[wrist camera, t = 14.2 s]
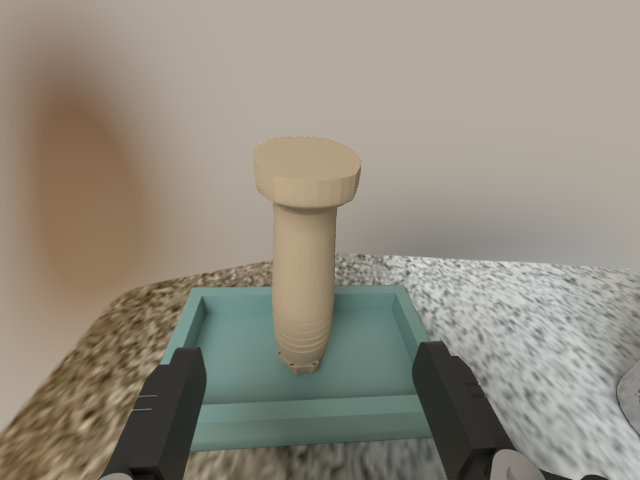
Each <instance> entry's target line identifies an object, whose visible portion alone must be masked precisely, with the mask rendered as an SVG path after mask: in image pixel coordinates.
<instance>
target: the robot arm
mask: <svg viewBox="0 0 640 480" xmlns="http://www.w3.org/2000/svg"><path fill="white" fill-rule="evenodd" d="M412 379H413V383H414V386H415V389H416V392H417V394H418V397H419V400H420V403H421V405H422V408H423V411H424V414H425V417H426V419H427V422H428V425H429V428H430V430H431V433H432V436H433V439H434V442H435V444H436V447H437V450H438V453H439V455H440V458H441V461H442V464H443V467H444V469H445V472H446V475H447V478H448V480H572V479H569V478H565V477H562V476H559V475H555V474H552V473H549V472H546V471H543V470H541V469H539V468H538V467H537V466H536V465H535V464H534V463H533V462H532V461H531V460H530V459H528V458H527V457H526V456H524V455H523V454H521V453H519V452H518V451H517V450H516V448H515V447H514V446H513V444H512V443H511V441H510V439H509V437H508V435H507V434H506V432H505V430H504V428H503V426H502V425H501V423H500V421H499V419H498V417H497V416H496V414H495V412H494V410H493V408H492V407H491V405H490V403H489V401H488V399H487V398H486V397H485V394H484V392H483V390H482V389H481V387H480V385H478V381H477V380H476V378H475V376H474V374H473V372H472V371H471V369H470V368H469V367H468V366H467V365H466V364H465V363H464V362H463V361H462V360H461V359H460V358H459V357H458V356H451V355H450V353H449V351H448V349H447V347H446V345H445V344H444V343H443V342H442V341H429V342H421V343H420V344H419V347H418V350H417V354H416V357H415V360H414V363H413V366H412ZM206 384H207V373H206V369H205V364H204V360H203V356H202V351H201V348H200V347H178V348H176V349H175V351H174V353H173V356H172V358H171V361H170V363H169V364H162V365H158V366H157V367H156V368H155V370H154V371H153V372H152V373H151V374H150V375H149V376H148V377H147V379H146V380H145V383H144V385H143V387H142V389H141V392H140V394H139V398H137V401H136V403H135V405H134V407H133V411H132V412H131V414H130V416H129V418H128V421H127V423H126V425H125V427H124V430H123V432H122V434H121V436H120V438H119V441H118V443H117V445H116V447H115V450H114V452H113V454H112V456H111V459H110V461H109V463H108V465H107V467H106V469H105V471H104V472H103V474H102V475H101V476H100V478H99V479H98V480H182V479H183V476H184V472H185V468H186V464H187V460H188V456H189V452H190V449H191V445H192V441H193V437H194V433H195V429H196V425H197V421H198V418H199V414H200V410H201V406H202V402H203V398H204V394H205V390H206ZM617 396H618V400H619V403H620V406H621V408H622V411H623V412H624V414H625V415H626V417H627V419H628V420H629V422H630V424H631V425H632V426H633V428H634V429H635V430H636V431H637V432H638V434H639V435H640V359H639V360H638V361H637V362H636V363H635V365H634V366H633V367H632V368H631V369H630V370H629V371H628V372H627V373H626V374H625V375H624V376H623V378H622V379H621V380H620V381H619V384H618V386H617ZM581 480H608V479H606V478H604V477H601V476H598V475H586V476H584V477H583V478H582V479H581Z"/></svg>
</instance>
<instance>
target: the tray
mask: <svg viewBox="0 0 640 480" xmlns="http://www.w3.org/2000/svg"><path fill="white" fill-rule="evenodd" d="M429 341H430V340H429V338H428V336H427V334H426V331H425V329H424V327H423V325H422V323H421V321H420V319H419V317H418V315H417V312H416V310H415V308H414V306H413V304H412V302H411V300H410V298H409V296H408V293H407V291H406V289H405V287H404V285H366V286H334V307H333V316H332V323H331V329H330V334H329V338H328V342H327V345H326V349H325V354H324V356H323V358H322V359H320V361H319V365H318V369H317V371H316V372H315V373H313V374H309V373H304V374H300V375H298V376H294V375H292V374H291V373H290V370H289V368H288V367H287V366H286V365H285V364H282V363H281V362H280V359H279V356H278V350H277V348H278V345H277V342H276V336H275V330H274V322H273V310H272V287H220V288H192V289H191V292H190V294H189V297H188V299H187V301H186V304H185V306H184V309H183V311H182V313H181V316H180V318H179V320H178V323H177V325H176V328H175V330H174V332H173V335H172V337H171V340H170V342H169V344H168V347H167V349H166V352H165V354H164V356H163V359H162V361H161V363H160V365H162V364H169V363H170V361H171V358H172V356H173V353H174V351H175V349H176V348H178V347H200V348H201V351H202V356H203V360H204V364H205V369H206V373H207V384H206V390H205V394H204V398H203V402H202V406H201V410H200V414H199V418H198V421H197V425H196V429H195V433H194V437H193V441H192V445H191V449H190V452H197V451H213V450H230V449H246V448H262V447H279V446H295V445H312V444H328V443H344V442H361V441H377V440H394V439H410V438H426V437H433V436H432V433H431V430H430V428H429V425H428V422H427V419H426V417H425V414H424V411H423V408H422V405H421V403H420V400H419V397H418V394H417V392H416V389H415V386H414V383H413V379H412V366H413V363H414V360H415V357H416V354H417V350H418V347H419V344H420V343H421V342H429Z"/></svg>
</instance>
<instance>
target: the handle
mask: <svg viewBox="0 0 640 480" xmlns="http://www.w3.org/2000/svg"><path fill="white" fill-rule="evenodd" d="M254 170H255V183H256V187H257V190H258V191H259V192H260V193H261V194H262V195H263V196H265V197H266V198H268V199H270V200H272V201H273V211H274V235H273V277H272V310H273V322H274V330H275V336H276V342H277V345H278V348H277V350H278V356H279V359H280V362H281V363H282V364H285V365H286V366H287V367H288V368H289V370H290V373H291V374H292V375H294V376H298V375H300V374H304V373H309V374H313V373H315V372H316V371H317V369H318V365H319V361H320V359H322V358H323V356H324V354H325V349H326V345H327V342H328V338H329V334H330V329H331V323H332V316H333V307H334V278H335V238H336V216H337V207H339V206H342V205H344V204H346V203H347V202H350V201H351V200H352V199H353V198H354V196H355V194H356V191H357V188H358V184H359V179H360V171H361V159H360V157H359V156H358V155H357V154H356V153H355V152H354V151H353V150H352V149H350V148H349V147H347V146H345V145H342V144H340V143H337V142H335V141H332V140H329V139H324V138H315V137H281V138H273V139H269V140H267V141H265V142H263V143H262V144H260V145H258V146H257V147H256V148H255V150H254Z"/></svg>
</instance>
